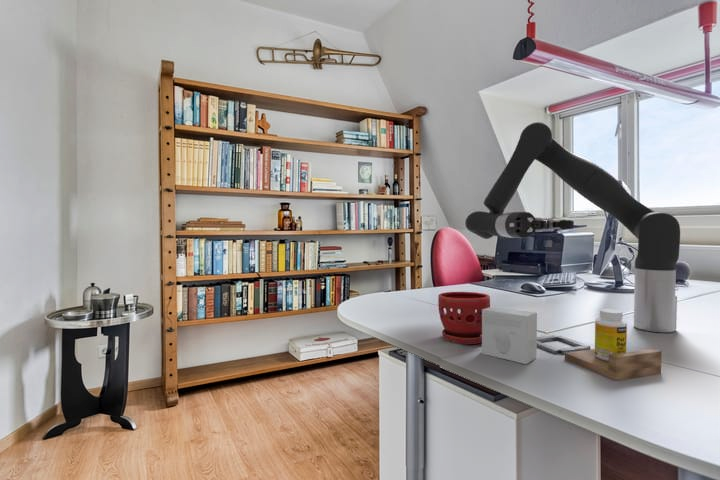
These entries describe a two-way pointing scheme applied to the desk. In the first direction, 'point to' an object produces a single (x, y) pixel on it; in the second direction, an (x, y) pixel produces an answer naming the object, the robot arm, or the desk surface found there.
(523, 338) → the skincare box
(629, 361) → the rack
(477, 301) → the plant pot
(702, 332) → the desk surface
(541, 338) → the socket collar
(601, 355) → the supplement bottle
